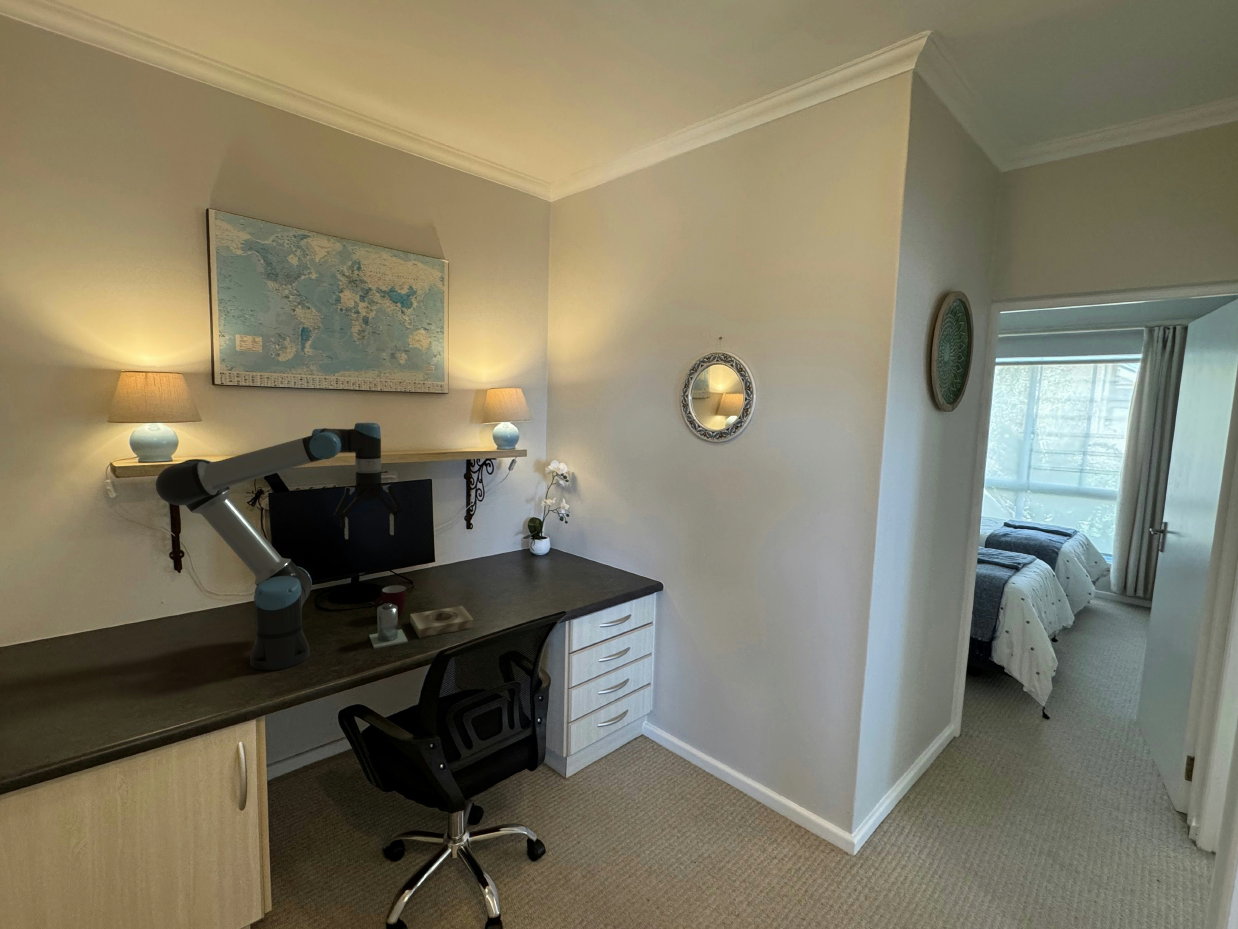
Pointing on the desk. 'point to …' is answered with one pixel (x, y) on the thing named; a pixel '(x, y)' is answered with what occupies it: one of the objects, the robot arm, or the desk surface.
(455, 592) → the desk surface
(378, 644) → the mat
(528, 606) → the desk surface
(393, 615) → the gray knobbed peg
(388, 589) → the mug
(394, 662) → the desk surface
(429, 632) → the housing
